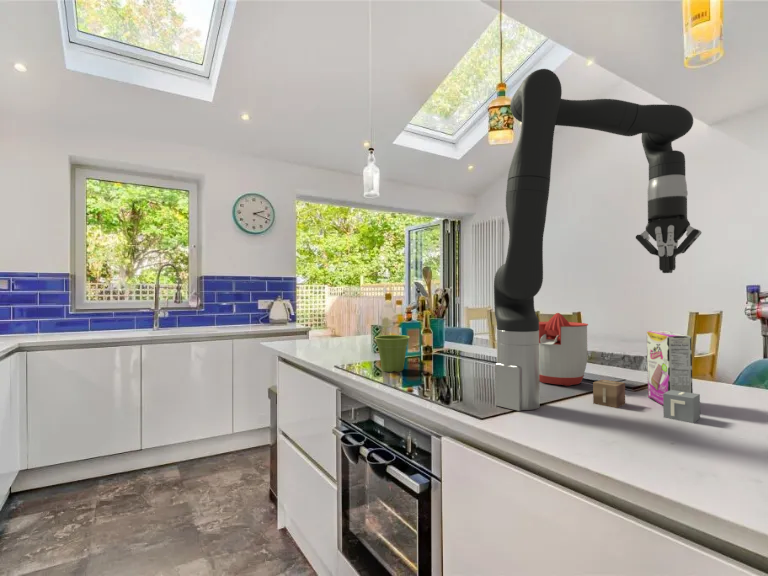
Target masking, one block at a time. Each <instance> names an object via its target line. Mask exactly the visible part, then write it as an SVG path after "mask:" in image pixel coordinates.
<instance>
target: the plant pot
mask: <svg viewBox="0 0 768 576" xmlns="http://www.w3.org/2000/svg"><path fill="white" fill-rule="evenodd" d="M410 338H411V337H410V336H409V335H403V334H401V335H400V334H389V335H388V334H386V335H378V336H375V337H374V339H375V340H376V345H377V348H378V354H379V360H380V361H379V362H380V367H381V370H382V371H383V372H387V373H392V372H396V373H398V372H402V371H404V367H405V361H406V355H407V354H406V353H407V347H408V343H409V339H410Z"/></svg>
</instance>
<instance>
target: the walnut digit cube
mask: <svg viewBox="0 0 768 576" xmlns="http://www.w3.org/2000/svg"><path fill="white" fill-rule="evenodd" d="M592 390H593V391H592V394H593V395H592V396H593V397H592V402H593V405H599V406H604V407H607V408H608V407H609V408H613V409H618V408H620V407H622V406H624V405H626V382H621V381H614V380H607V379H598V380H596V381H594V382H592Z"/></svg>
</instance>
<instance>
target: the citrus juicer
mask: <svg viewBox="0 0 768 576" xmlns="http://www.w3.org/2000/svg"><path fill="white" fill-rule="evenodd" d="M588 326H589V324H588V323H585V322H573V321H568V320H567V319H566V318H565V316H563V315H562V314H561V313H559V312H557V313H556V312H555V314H553V316H552V317H551V318H549V320H547V321H539V383H541V384H552V385H558V386H559V385H560V386H561V385H562V386H564V387H571V386H572V385H579V384H580V383H582V380H583V379H584V376H585V371H586V370H587V369H586V368H587V364H588Z"/></svg>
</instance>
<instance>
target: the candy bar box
mask: <svg viewBox="0 0 768 576" xmlns="http://www.w3.org/2000/svg"><path fill="white" fill-rule="evenodd" d="M692 344H693V343H692V336H690V335H687V334H681V333H678V332H673V331H668V330H647V331H646V354H647V355H646V357H647V358H646V359H647V360H646V361H647V397H648V398H650V399H651V400H652V401H654V402H656V403H657V404H660V405H661V406H663V394H664V393H666V392H668V391H670V390H675V391H682V392H688V393H694V392H693V391H694V389H693V355H692V353H693V352H692V351H693V349H692V346H693V345H692Z"/></svg>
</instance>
